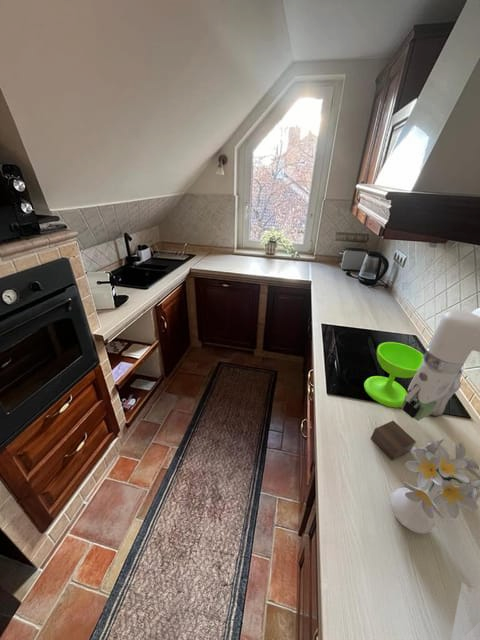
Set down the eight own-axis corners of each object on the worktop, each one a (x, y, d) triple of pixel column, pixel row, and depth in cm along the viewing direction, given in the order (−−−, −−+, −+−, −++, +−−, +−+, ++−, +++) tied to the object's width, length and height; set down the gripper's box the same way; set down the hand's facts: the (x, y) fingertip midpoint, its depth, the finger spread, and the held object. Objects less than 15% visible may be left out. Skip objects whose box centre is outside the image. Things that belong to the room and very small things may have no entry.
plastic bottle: (419, 400, 96) (442, 359, 85) (441, 409, 92) (468, 368, 82) (418, 412, 91) (442, 370, 81) (440, 421, 88) (469, 379, 78)
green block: (413, 401, 74) (419, 389, 71) (429, 415, 70) (437, 402, 67) (400, 407, 72) (406, 394, 69) (417, 421, 68) (424, 408, 65)
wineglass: (385, 373, 108) (400, 339, 99) (419, 401, 95) (439, 365, 86) (355, 381, 104) (367, 346, 95) (385, 412, 91) (403, 374, 82)
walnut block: (388, 430, 85) (393, 420, 82) (410, 451, 78) (416, 441, 76) (370, 438, 82) (375, 428, 79) (391, 461, 75) (397, 451, 73)
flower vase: (366, 527, 61) (403, 470, 48) (393, 473, 72) (428, 415, 60) (428, 581, 53) (492, 531, 40) (447, 511, 64) (502, 454, 52)
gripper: (434, 379, 55) (406, 432, 65) (481, 360, 61) (449, 411, 70) (404, 359, 61) (381, 409, 71) (449, 343, 67) (423, 392, 76)
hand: (415, 410), depth 70 cm, fingers closed on green block, 5 cm apart
